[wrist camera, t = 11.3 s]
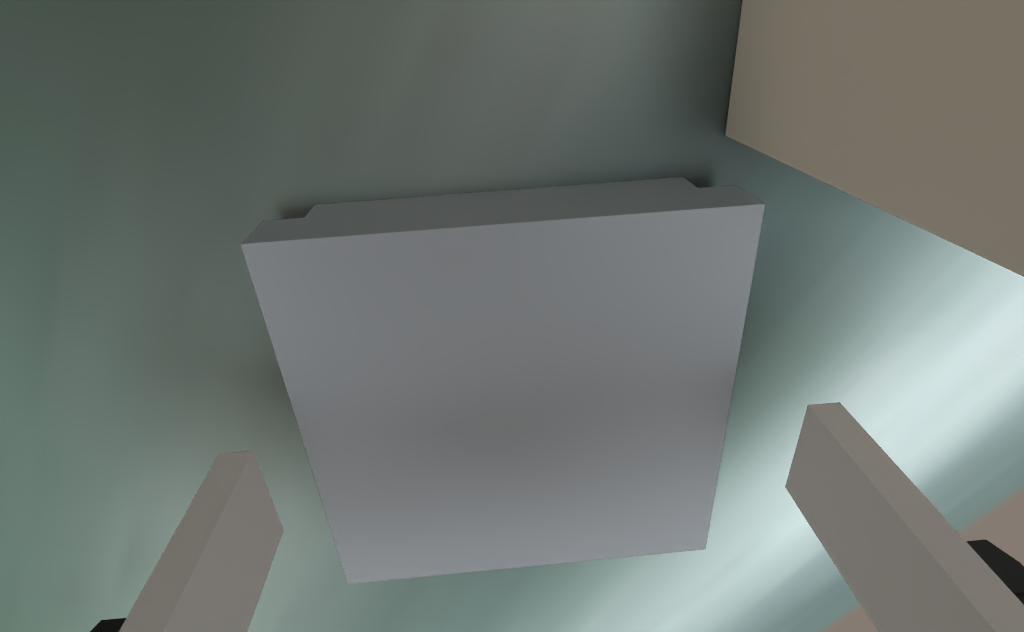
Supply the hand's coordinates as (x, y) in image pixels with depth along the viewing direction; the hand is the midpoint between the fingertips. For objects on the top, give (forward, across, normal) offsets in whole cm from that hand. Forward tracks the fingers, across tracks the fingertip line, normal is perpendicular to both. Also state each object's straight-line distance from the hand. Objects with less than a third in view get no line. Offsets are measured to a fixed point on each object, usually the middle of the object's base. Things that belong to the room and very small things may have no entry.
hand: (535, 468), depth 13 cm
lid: (+4, 0, 0) cm, 4 cm away
